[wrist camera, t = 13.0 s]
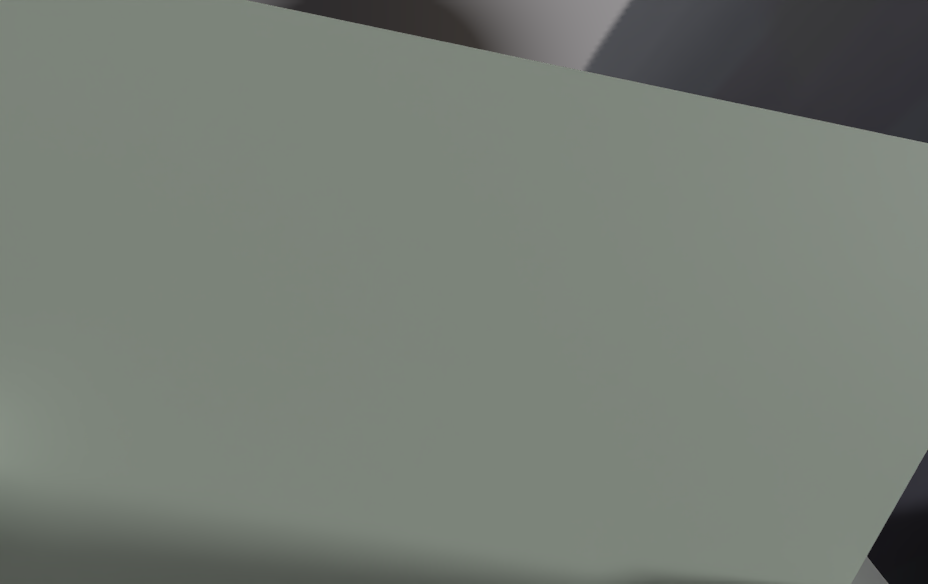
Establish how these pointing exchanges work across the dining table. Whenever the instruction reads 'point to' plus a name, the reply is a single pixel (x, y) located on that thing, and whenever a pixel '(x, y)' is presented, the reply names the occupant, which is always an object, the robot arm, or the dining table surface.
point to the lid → (435, 313)
